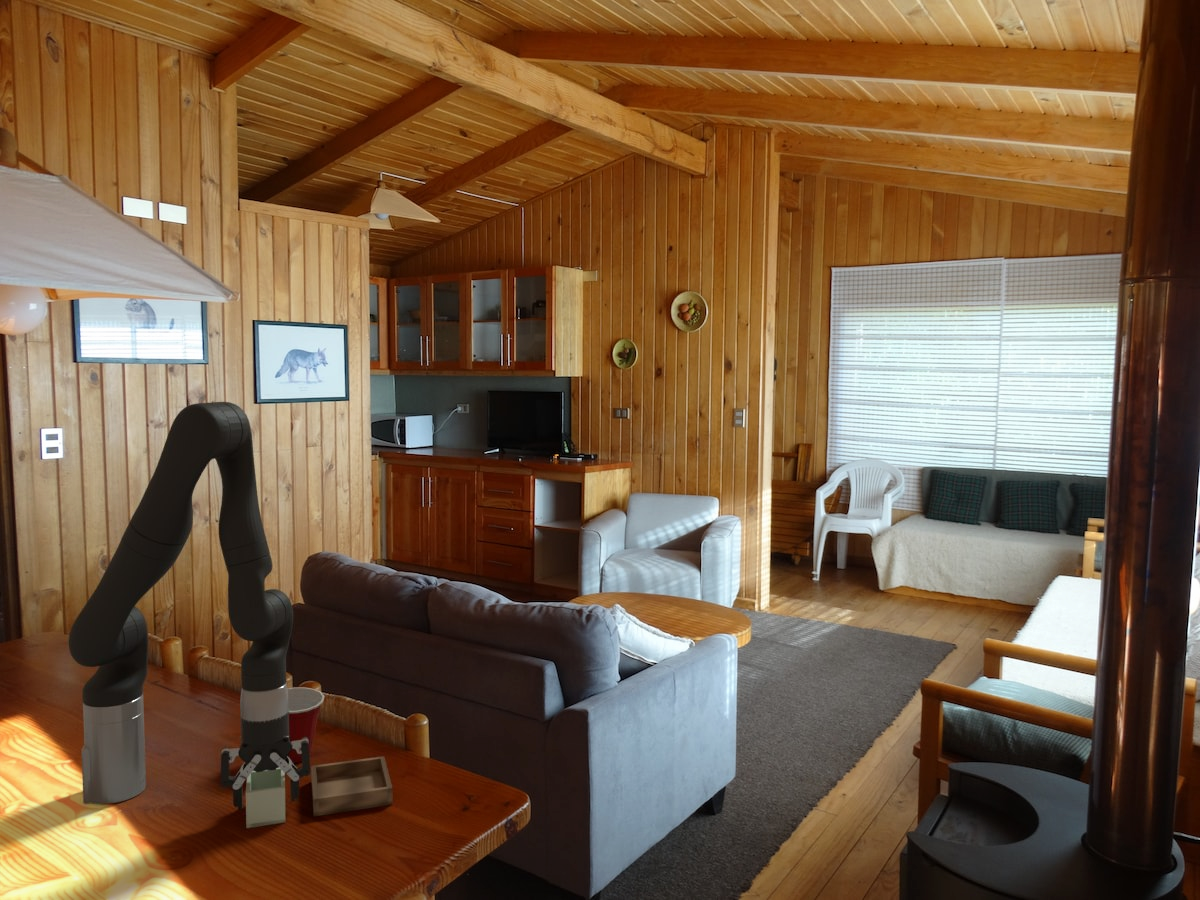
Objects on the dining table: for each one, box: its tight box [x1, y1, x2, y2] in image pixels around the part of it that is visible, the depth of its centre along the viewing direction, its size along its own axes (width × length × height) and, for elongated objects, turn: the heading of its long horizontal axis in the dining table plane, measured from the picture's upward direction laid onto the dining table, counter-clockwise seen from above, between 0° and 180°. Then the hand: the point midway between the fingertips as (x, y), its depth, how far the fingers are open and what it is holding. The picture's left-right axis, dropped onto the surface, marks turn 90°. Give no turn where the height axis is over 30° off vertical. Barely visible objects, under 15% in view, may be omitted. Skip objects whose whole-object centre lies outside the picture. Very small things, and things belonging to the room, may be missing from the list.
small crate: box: [245, 767, 286, 829], centre depth 147 cm, size 6×8×6 cm
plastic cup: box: [287, 686, 325, 764], centre depth 168 cm, size 11×11×12 cm
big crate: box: [310, 755, 393, 817], centre depth 155 cm, size 13×13×3 cm
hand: (267, 803), depth 147 cm, fingers open, 8 cm apart
